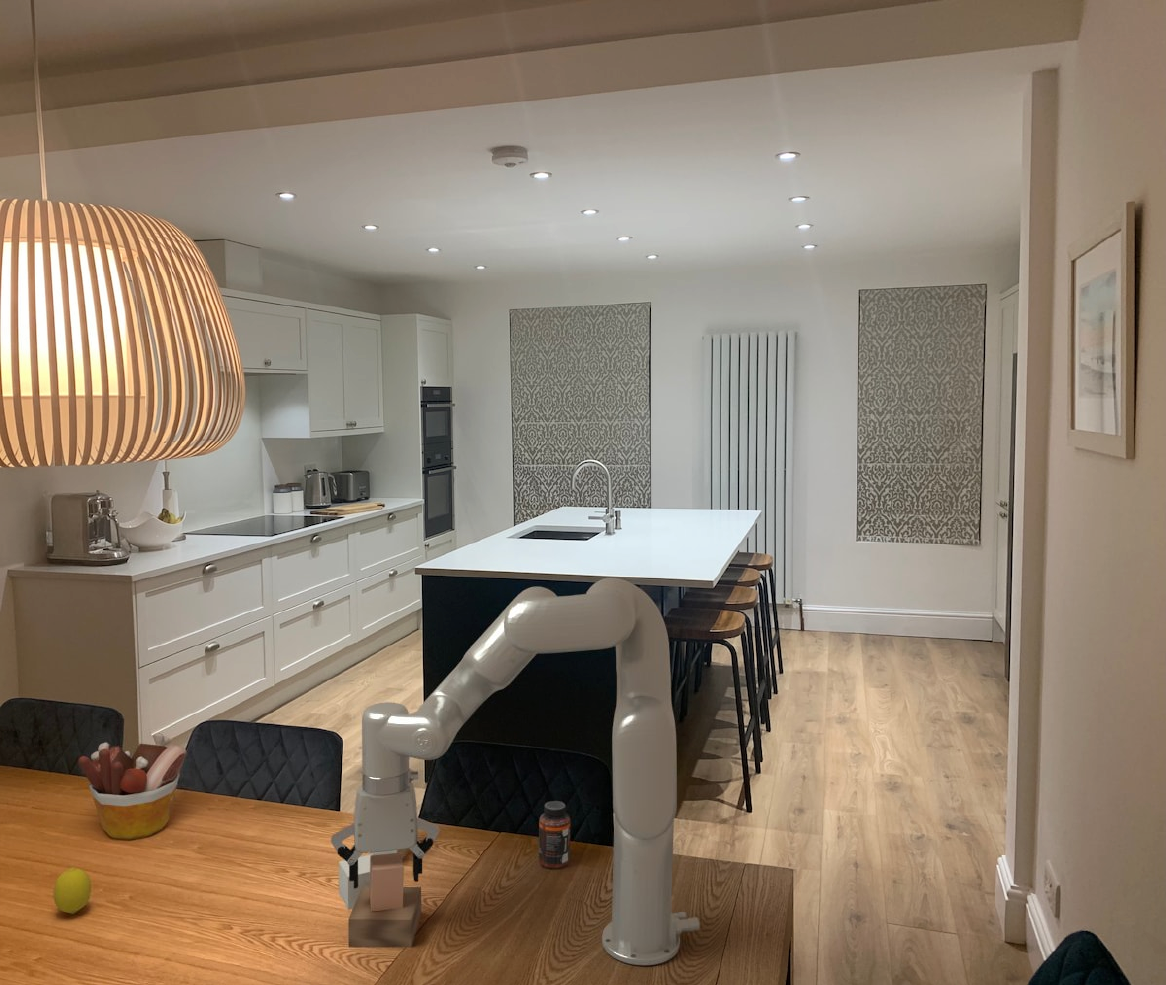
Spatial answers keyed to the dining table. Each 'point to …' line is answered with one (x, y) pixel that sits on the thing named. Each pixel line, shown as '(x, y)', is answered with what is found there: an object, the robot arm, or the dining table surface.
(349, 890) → the grey cube
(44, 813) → the dining table surface
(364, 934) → the walnut block
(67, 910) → the lemon
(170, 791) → the bucket of meat
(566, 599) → the robot arm
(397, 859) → the terracotta block
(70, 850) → the dining table surface
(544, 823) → the supplement bottle
